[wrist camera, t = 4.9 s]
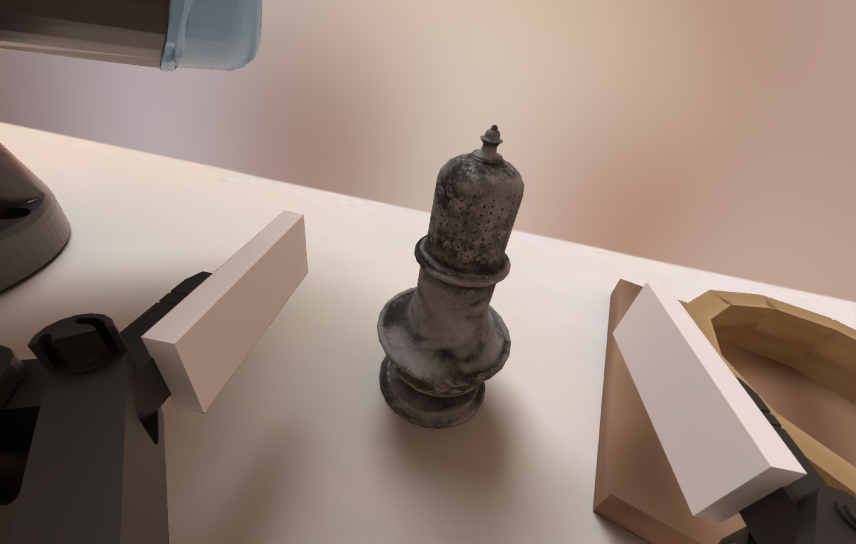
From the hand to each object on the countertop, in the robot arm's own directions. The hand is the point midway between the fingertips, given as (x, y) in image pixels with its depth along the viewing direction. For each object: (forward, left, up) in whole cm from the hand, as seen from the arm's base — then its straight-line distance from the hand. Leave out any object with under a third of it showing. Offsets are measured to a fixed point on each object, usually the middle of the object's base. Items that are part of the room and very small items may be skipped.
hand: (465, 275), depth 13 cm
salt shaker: (0, 0, -7) cm, 7 cm away
